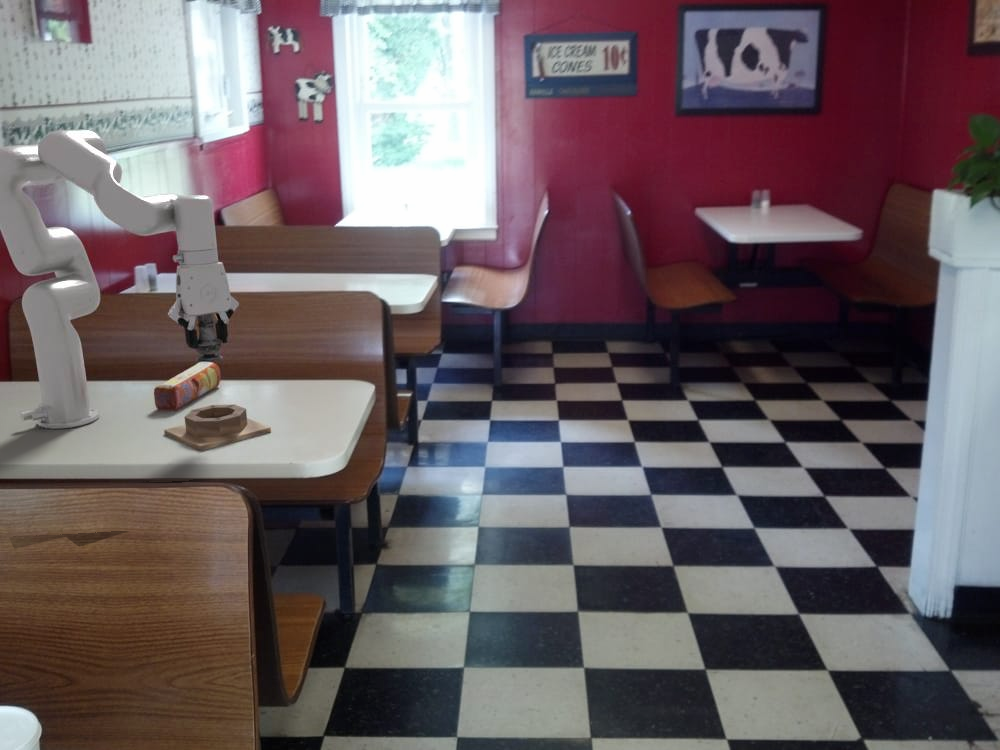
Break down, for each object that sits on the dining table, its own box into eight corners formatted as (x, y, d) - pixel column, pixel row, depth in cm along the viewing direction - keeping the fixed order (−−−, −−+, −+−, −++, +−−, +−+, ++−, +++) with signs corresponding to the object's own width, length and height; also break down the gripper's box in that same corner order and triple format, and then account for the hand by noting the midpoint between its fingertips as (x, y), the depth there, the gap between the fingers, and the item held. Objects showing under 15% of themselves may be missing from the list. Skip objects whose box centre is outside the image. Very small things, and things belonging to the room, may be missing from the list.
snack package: (178, 412, 230) (175, 384, 229) (152, 411, 232) (149, 383, 230) (223, 387, 250) (220, 360, 249) (198, 386, 252) (195, 360, 250)
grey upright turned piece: (228, 355, 213) (222, 298, 209) (218, 362, 207) (212, 304, 204) (201, 355, 213) (195, 298, 210) (190, 362, 208) (183, 304, 204)
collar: (201, 450, 203) (198, 429, 202) (164, 434, 214) (162, 413, 213) (271, 431, 214) (269, 411, 213) (232, 417, 225) (230, 397, 224)
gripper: (167, 265, 196) (177, 355, 201) (246, 254, 208) (254, 340, 212) (149, 261, 202) (160, 349, 206) (227, 251, 213) (235, 335, 218)
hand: (207, 344), depth 209 cm, fingers closed on grey upright turned piece, 5 cm apart
